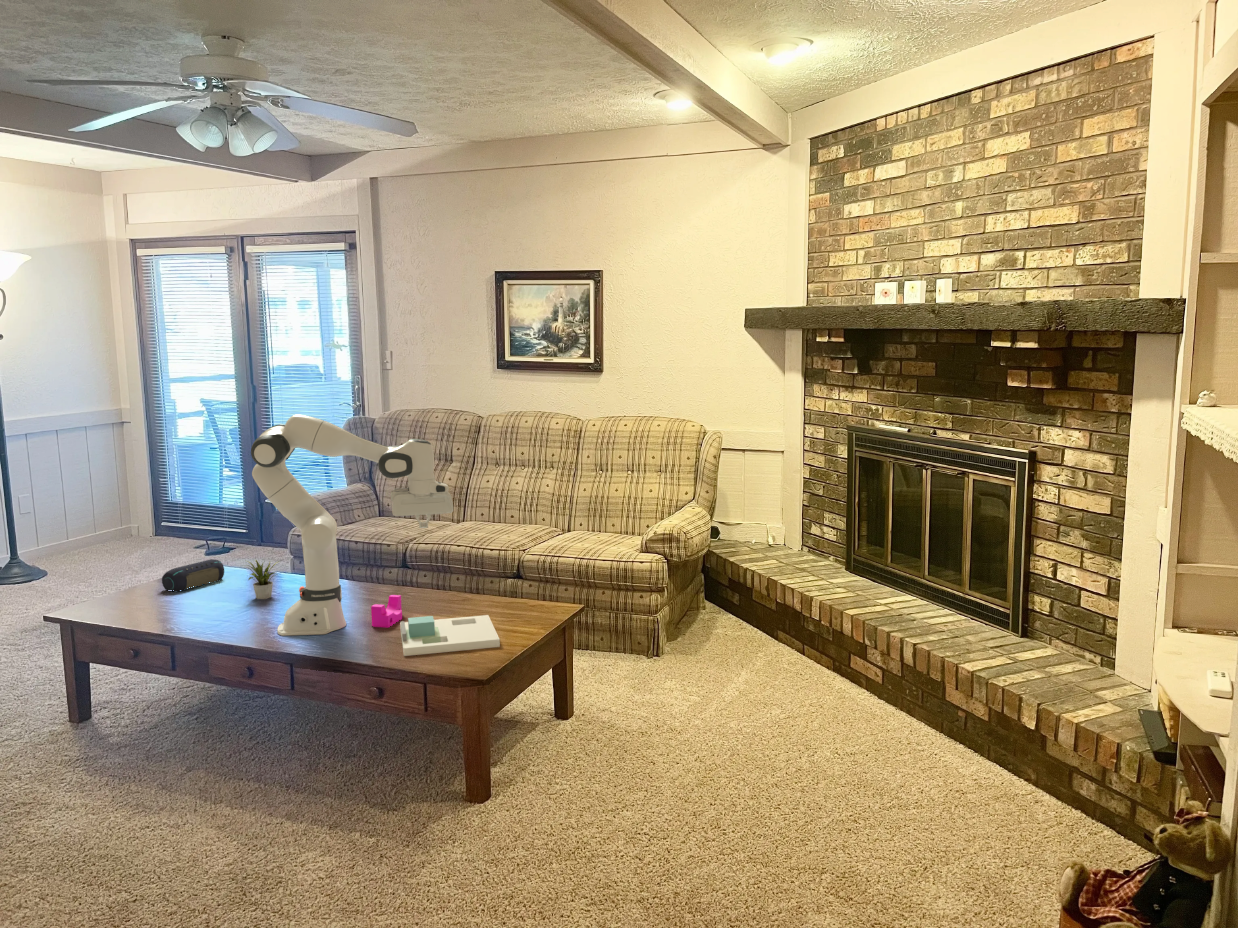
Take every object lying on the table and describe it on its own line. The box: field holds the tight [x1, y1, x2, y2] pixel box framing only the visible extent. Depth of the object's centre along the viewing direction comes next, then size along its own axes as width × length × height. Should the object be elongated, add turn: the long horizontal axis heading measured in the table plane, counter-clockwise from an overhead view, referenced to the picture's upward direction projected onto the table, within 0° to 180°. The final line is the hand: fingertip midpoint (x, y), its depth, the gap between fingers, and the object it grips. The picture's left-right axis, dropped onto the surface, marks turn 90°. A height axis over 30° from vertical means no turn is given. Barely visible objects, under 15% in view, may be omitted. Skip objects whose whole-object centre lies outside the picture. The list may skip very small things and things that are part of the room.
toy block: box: [370, 594, 403, 629], centre depth 326 cm, size 15×6×8 cm, turn 167°
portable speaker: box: [161, 558, 225, 592], centre depth 374 cm, size 25×10×10 cm, turn 153°
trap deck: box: [399, 614, 501, 657], centre depth 306 cm, size 30×28×5 cm
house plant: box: [242, 558, 280, 600], centre depth 355 cm, size 14×14×16 cm
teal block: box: [407, 615, 435, 638], centre depth 303 cm, size 8×7×4 cm
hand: (423, 527), depth 313 cm, fingers closed
